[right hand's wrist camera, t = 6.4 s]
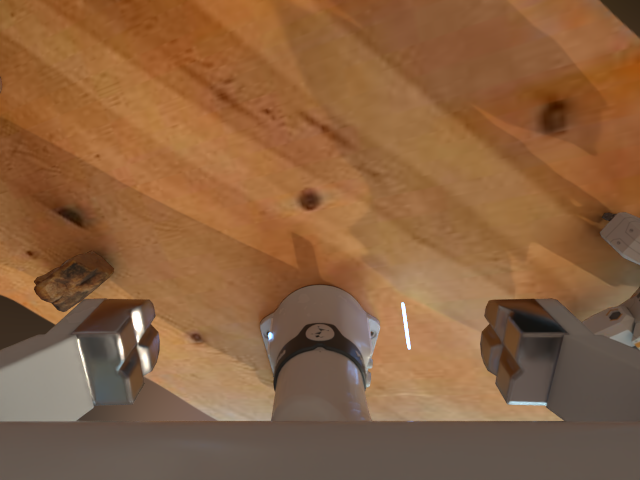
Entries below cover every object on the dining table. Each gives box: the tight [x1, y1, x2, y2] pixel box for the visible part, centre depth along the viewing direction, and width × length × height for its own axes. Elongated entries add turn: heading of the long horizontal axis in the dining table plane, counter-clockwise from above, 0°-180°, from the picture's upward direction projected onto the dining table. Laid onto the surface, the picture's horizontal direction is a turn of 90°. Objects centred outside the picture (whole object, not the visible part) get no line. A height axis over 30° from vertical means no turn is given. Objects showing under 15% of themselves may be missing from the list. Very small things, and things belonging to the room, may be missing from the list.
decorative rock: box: [34, 251, 114, 312], centre depth 57 cm, size 12×6×11 cm, turn 122°
